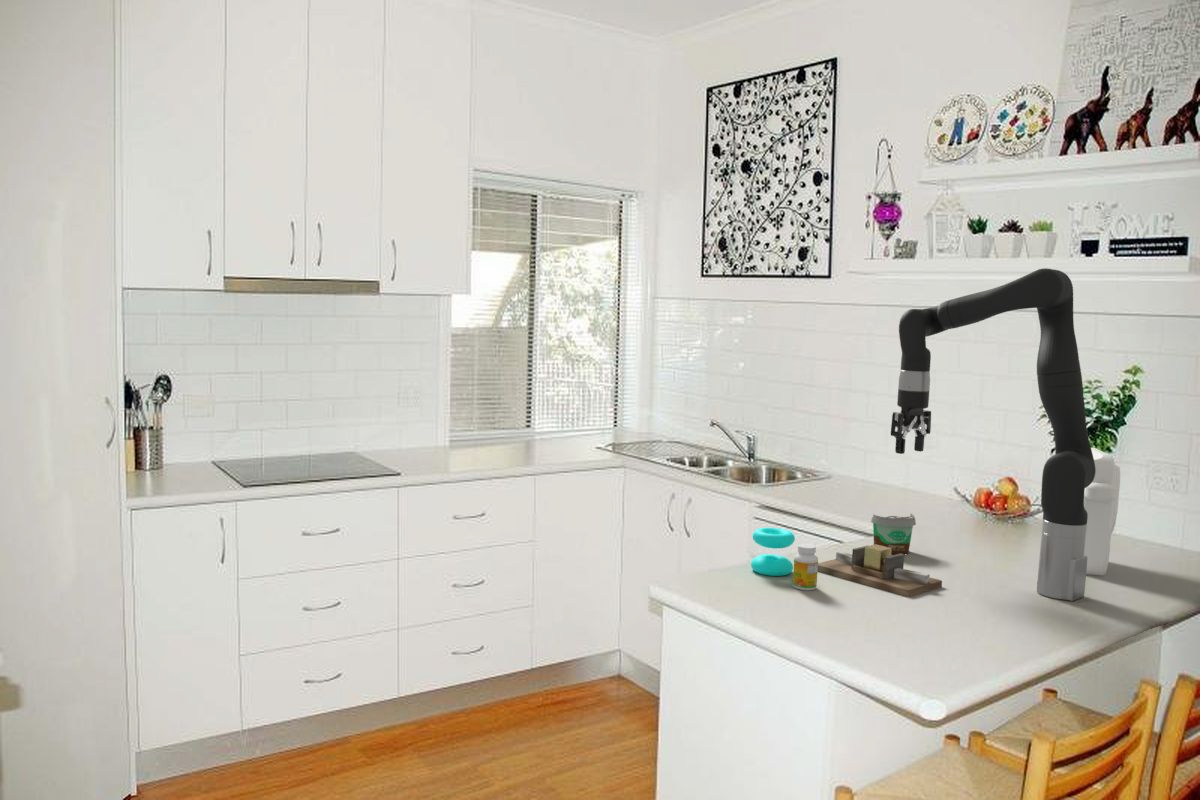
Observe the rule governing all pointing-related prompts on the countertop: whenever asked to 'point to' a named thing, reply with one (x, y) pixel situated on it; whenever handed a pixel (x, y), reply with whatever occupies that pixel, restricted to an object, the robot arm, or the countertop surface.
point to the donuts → (770, 562)
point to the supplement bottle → (805, 568)
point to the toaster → (1101, 512)
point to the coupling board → (879, 573)
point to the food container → (893, 532)
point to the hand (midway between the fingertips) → (909, 452)
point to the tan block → (876, 557)
